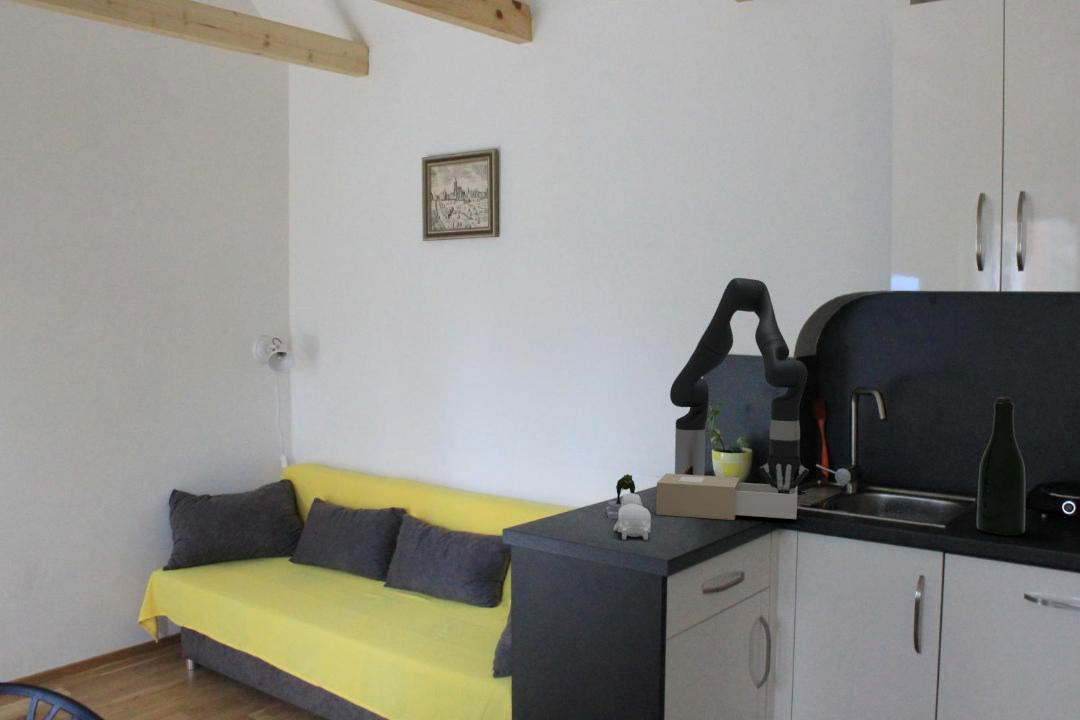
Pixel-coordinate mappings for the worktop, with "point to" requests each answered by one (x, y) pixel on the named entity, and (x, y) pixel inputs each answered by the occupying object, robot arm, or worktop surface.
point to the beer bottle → (1002, 477)
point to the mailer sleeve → (697, 496)
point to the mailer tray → (765, 501)
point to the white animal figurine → (633, 517)
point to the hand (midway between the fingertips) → (783, 503)
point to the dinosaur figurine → (614, 507)
